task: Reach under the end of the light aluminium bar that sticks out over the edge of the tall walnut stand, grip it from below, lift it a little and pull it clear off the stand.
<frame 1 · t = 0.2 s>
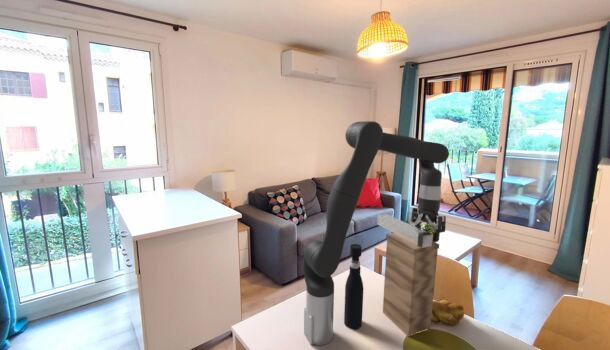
hand: (426, 237, 110), 29 cm above the table, tool pointing down, fingers open, 8 cm apart
bread roll: (441, 319, 107), on the table
wine bottle: (352, 323, 104), on the table
walnut stand: (405, 320, 106), on the table
aluminium bar: (401, 234, 105), point 32 cm above the table, touching walnut stand
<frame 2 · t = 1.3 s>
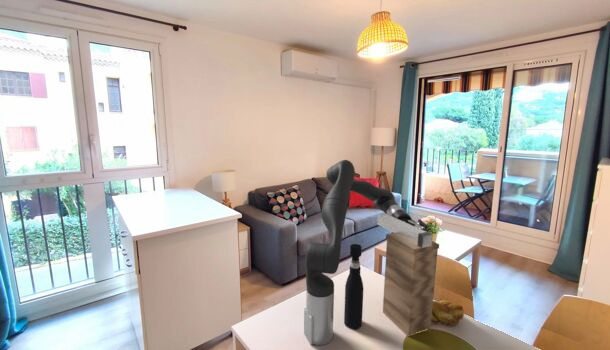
hand: (417, 237, 110), 29 cm above the table, tool horizontal, fingers open, 8 cm apart
nothing on the table moved.
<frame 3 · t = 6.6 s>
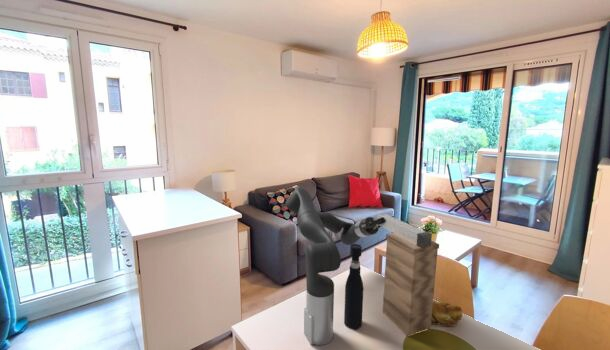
hand: (388, 219, 111), 35 cm above the table, tool pointing upward, fingers closed on aluminium bar, 4 cm apart
aluminium bar: (401, 234, 105), point 32 cm above the table, touching gripper, walnut stand
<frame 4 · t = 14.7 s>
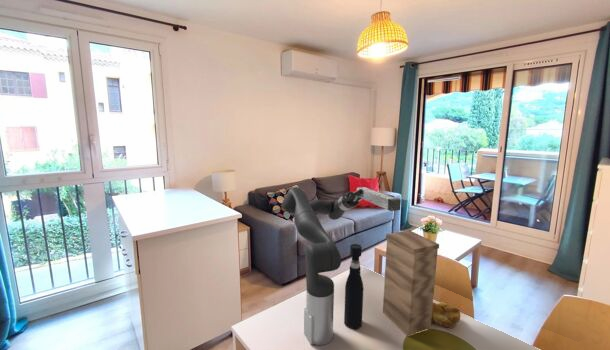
hand: (366, 190, 124), 43 cm above the table, tool pointing upward, fingers closed on aluminium bar, 4 cm apart
bread roll: (438, 321, 106), on the table
aluminium bar: (376, 202, 118), point 40 cm above the table, touching gripper
everything else where it was.
at the end: the gripper is holding aluminium bar; aluminium bar touching gripper; aluminium bar inside the target area (4.4 cm from its centre), point 39.9 cm above the table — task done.
